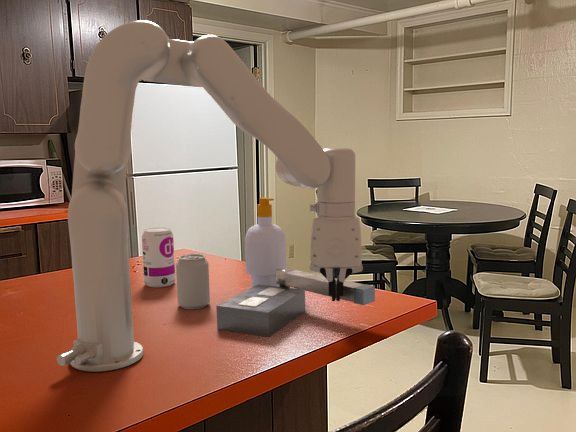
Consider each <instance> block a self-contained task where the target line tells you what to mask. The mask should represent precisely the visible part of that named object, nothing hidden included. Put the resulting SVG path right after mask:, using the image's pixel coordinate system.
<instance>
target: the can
mask: <svg viewBox="0 0 576 432" xmlns="http://www.w3.org/2000/svg"><path fill="white" fill-rule="evenodd" d="M209 265H210V264H209V261H208V260H207V259H206V255H205V254H202V253H190V254H189V253H188V254H187V253H186V254H183V255H180V256H179V257H178V260H177V262H176V263H175V277H176V292H177V294H176V295H177V305H179V306H180V307H181V308H182V309H184V310H198V309H203V308H205V307H207V305H208V304H209V303H210V301H211V298H210V293H211V292H210V272H209V270H210V269H209V267H210V266H209Z"/></svg>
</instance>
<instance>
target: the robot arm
mask: <svg viewBox="0 0 576 432" xmlns="http://www.w3.org/2000/svg"><path fill="white" fill-rule="evenodd" d="M85 68H86V69H85V70H84V71H85V73H84V78H83V86H82V92H81V94H82V95H81V101H80V102H81V103H80V109H79V118H78V119H79V120H78V128H77V134H76V137H75V141H74V151H75V152H74V162H73V175H72V185H71V186H72V188H71V198H70V201H69V203H68V209H67V224H68V225H67V226H68V235H69V244H70V254H71V255H70V256H71V267H72V277H73V278H72V279H73V289H74V290H73V291H74V305H75V316H76V319H75V320H76V329H77V330H76V332H77V339H75V340H73V342H72V343H73V346H72V347H71V348H70V350H69V351H65V352H63V353H61V354H59V355H57V357H56V362H57V364H58V365H59V366H61V367H64V366H66V365H68V364H70V366H71V367H72V368H74V369H76V370H78V371H81V372H82V371H83V372H93V373H94V372H99V373H100V372H108V371H114V370H119V369H122V368H125V367H129V366H131V365H133V364H134V363H136V362H138V361H139V360H141V358H142V357H143V355H144V347H143V345H142V344H141V343H139V342H137V341H135V339H134V338H135V337H134V336H135V335H134V322H133V304H132V301H133V299H132V288H131V287H132V286H131V285H132V284H131V271H130V256H129V255H130V253H129V252H130V251H129V220H128V219H129V217H128V216H129V215H128V214H129V213H128V208H127V203H126V200H125V192H126V184H127V183H126V181H127V172H128V171H127V170H128V162H129V160H130V156H131V154H132V143H131V142H132V141H131V137H132V136H131V135H132V121H133V111H134V105H135V99H136V98H135V97H136V91H137V87H138V85H139V82H140V81H144V82H145V81H146V82H151V83H152V82H153V83H160V84H168V85H175V86H182V87H193V88H203V89H204V91H206V93H207V94H208V95H209V96H210V97H211V98H212V99H213V101H214V102H215V103H216V104H217V105H218V106H219V107H220V109H221V110H222V111H223V112H224V114H225V115H226V116H227V117H228V118H229V120H231V122H232V123H233V124H234V125H235V126H236V127H237V128H238V129H240V131H242V132H244V134H246V135H249V136H251V137H252V138H254V139H256V140H257V141H259V142H260V143H262V144H263V145H264V146H265V147H266V148H267V149H269V151H271V152H272V153H273V155H274V156H275V157H276V158H277V159H276V161H275V171H276V174H277V176H278V178H279V179H280V180H281V181H282V182H284V183H285V184H287V185H290V186H294V187H299V188H302V189H303V188H304V189H309V190H310V189H312V190H313V189H316V188H317V190H316V191H317V192H316V195H317V199H316V201H317V202H315V203H313V204H311V203H310V204H309V211H310V212H315V213H316V216H314V217H313V219H312V225H311V233H310V234H311V235H310V252H309V253H310V255H309V257H310V265H309V271H311V272H315V273H319V274H320V275H322V276H324V277H325V278H326V279H327V281H328V282H329V296H328V297H330V296H332V297H331V302H340V300H341V299H340V296H343V282H344V280H345V281H346V279H347V278H349V277H350V275H352V274H357V273H360V272H363V270H364V269H363V264H362V259H363V257H362V256H363V255H362V253H363V251H362V249H363V248H362V246H363V245H362V230H361V223H360V217H359V216H356V154H355V151H354V150H353V149H351V148H348V147H328V148H323V147H322V146H321V145H320V144H319V143H318V141H317V140H316V138H315V137H314V136H313V135H312V133H310V131H309V130H308V129H307V128H306V127H305V126H304V125H303V124H302V122H301V121H300V120H299V119H297V118H296V117H295V116H294V115H293V114H292V113H291V112H289V110H288V109H286V108H285V107H284V106H283V105H282V104H281V103H280V102H279V101H278V100H276V99H275V98H274V97H273V96H271V94H270V93H269V92H268V91H267V90H266V88H265V87H264V86H263V84H262V83H261V82H260V81H259V79H257V78H256V76H255V75H254V74H253V72H252V71H251V70H250V68H249V67H248V66H247V65H246V64H245V63H244V61H243V60H242V59H241V57H239V55H238V54H237V53H236V51H235V50H234V48H232V46H230V45H229V43H227V42H226V41H225V40H224V39H223V38H221V37H220V36H217V35H214V34H207V35H202V36H201V37H198V38H196V39H195V40H194V41H188V40H182V39H181V40H180V39H172V38H169V37H168V35H167V33H166V32H165V30H164V29H163V28H162V27H161V26H159V25H158V24H156V23H155V22H152V21H150V20H141V19H139V20H134V21H129V22H126V23H124V24H122V25H121V24H120V25H119V26H117V27H115V28H113V29H112V30H110V31H109V32H108V33H107V34H105V35H104V36H103V37H102V38H101V39H100V40H99V42H98V43H97V44H96V46H95V47H94V49H93V50H92V52H91V54H90V56H89V59H88V61H87V64H86V67H85ZM333 269H339V275H338V276H337V278H336V276H335V275H334V271H333ZM335 278H336V279H337V281H336V280H335Z"/></svg>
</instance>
